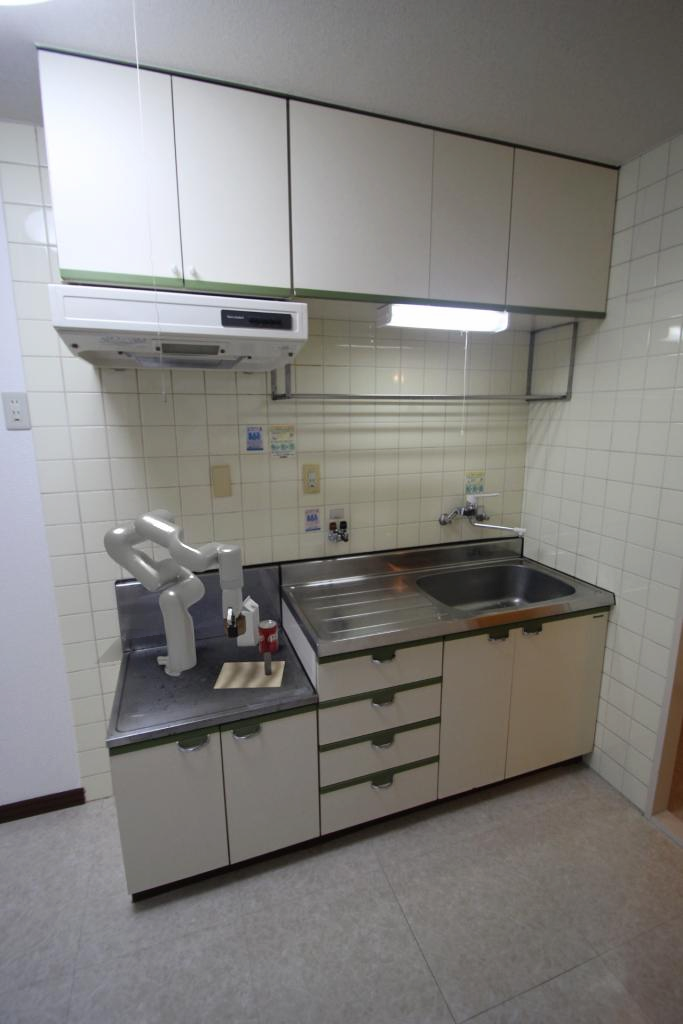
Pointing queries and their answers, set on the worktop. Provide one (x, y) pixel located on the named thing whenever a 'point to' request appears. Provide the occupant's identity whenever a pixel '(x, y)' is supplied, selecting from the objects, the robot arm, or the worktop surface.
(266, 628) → the soda can
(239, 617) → the bead
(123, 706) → the worktop surface
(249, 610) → the milk carton
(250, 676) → the board
